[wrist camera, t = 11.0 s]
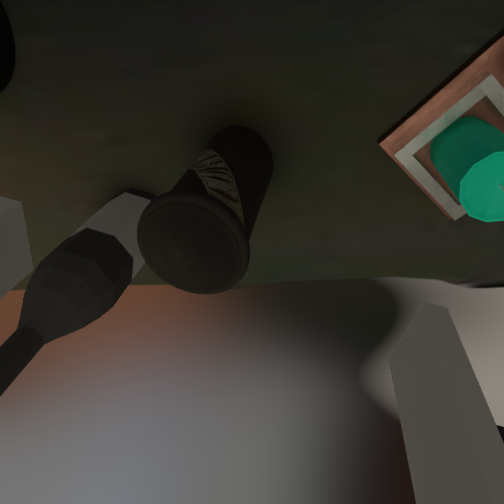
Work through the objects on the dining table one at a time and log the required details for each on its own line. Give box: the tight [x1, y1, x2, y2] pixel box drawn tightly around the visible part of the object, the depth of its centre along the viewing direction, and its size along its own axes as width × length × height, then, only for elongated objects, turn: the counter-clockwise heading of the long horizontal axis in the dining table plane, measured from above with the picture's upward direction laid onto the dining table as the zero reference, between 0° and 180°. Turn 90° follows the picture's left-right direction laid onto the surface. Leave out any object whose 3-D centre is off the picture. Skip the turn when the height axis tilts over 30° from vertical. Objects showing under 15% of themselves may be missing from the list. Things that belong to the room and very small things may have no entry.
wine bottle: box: [0, 188, 155, 396], centre depth 38 cm, size 8×8×30 cm
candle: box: [430, 116, 504, 222], centre depth 33 cm, size 6×6×12 cm
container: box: [137, 126, 273, 294], centre depth 36 cm, size 9×9×20 cm
